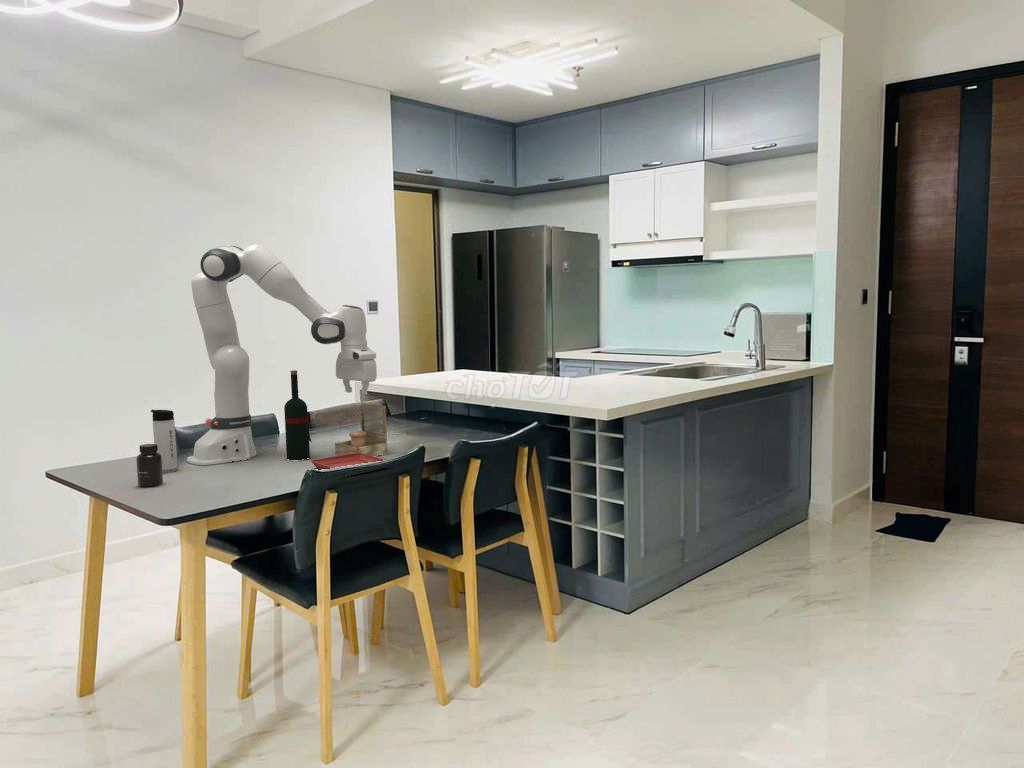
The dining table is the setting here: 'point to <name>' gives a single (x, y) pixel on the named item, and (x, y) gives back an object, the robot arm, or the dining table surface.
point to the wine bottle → (296, 424)
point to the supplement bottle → (149, 466)
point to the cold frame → (369, 432)
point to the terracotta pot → (357, 438)
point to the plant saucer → (344, 460)
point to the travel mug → (165, 438)
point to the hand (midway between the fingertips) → (356, 393)
